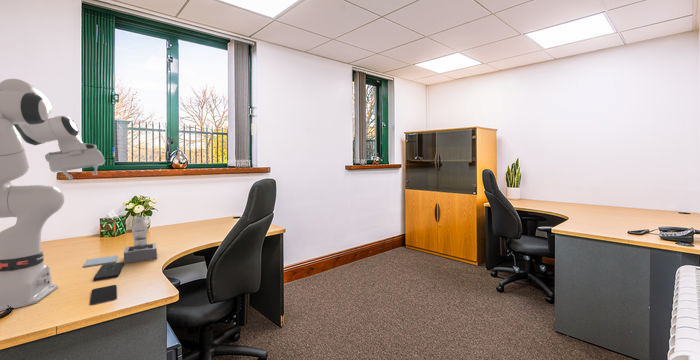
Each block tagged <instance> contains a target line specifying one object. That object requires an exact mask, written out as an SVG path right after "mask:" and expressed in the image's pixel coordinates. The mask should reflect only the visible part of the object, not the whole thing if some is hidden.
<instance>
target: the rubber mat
mask: <svg viewBox="0 0 700 360" xmlns="http://www.w3.org/2000/svg"><path fill="white" fill-rule="evenodd" d="M118 258H119V255H111V256H103V257H96V258H89V259H86V261H85V262H84V264H83V265H82V268H89V267H94V266H100V265H101V266H102V265H104V264H111V263H117V260H118Z"/></svg>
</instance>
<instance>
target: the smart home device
mask: <svg viewBox="0 0 700 360" xmlns="http://www.w3.org/2000/svg"><path fill="white" fill-rule="evenodd" d="M124 265H125V263H124V261H121V262H116V263H109V264H102V265H101V266H100V268H99V269H98V270H97V271H96V273H95V274H94V276H93V282H97V281H103V280H108V279H115V278H118V277H119V276H120V274H121V272H122V270H123V267H124Z"/></svg>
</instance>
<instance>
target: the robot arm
mask: <svg viewBox="0 0 700 360" xmlns="http://www.w3.org/2000/svg"><path fill="white" fill-rule="evenodd" d="M51 111H52V105H51V102H50V101H49V99H48V98H47V97H46V96H45V95H44V94H43V92H42V91H40V90H39V89H38V88H36V87H35V86H34V85H31V84H30V83H28V82H27V81H25V80H23V79H22V80H21V79H17V78H8V79H4V80H2V81H0V219H5V218H16V222H15V224H14V225H12V226H9V227H7V228H6V229H3V230H2V231H0V312H3V311H7V310H6V309H7V308H8V306H7V305H9V307H10V306H11V307H13V308H14V309H17V308H22V307H25V306H29V305H34V304H36V303H39V302H40V301H41V300H43V299H44V298H45V297H47V296H48V295H49V294H51V293H52V292H54V291H56V290H57V289H58V288H59V286H58V284H54V283H53V281H52V273H51V269H50V268H51V267H50V266H49V265H47V264H45V263H44V257H45V256H44V251H42V244H41V243H42V239H41V238H42V231H43V227H44V225H45V224H46V222H47V221H48V220H49V218H51V216H53V215H54V214H56V213H57V212H59V210H61V209H62V208H63V206H64V204H65V203H64V202H65V196H64V193H63V192H62V191H61V190H60V188H58V187H57V186H51V185H42V184H39V185H38V184H37V185H36V184H34V185H13V184H12V183H11V181H14V180H16V179H19V178H21V177H23V176H25V175H26V174H27V172H28V171H29V168H30V167H29V162H28V158H27V155H26V151H25V148H24V144H23V141H24V142H25V143H26V144H29V145H32V146H38V145H42V144H45V143H49V142H55V141H57V144H58V146H57V147H58V149H59V150H60V151H53V152H52V151H51V152H48V153H47V154H45V155H44V158H45V160H46V162H47V163H48V165H49V170H50V171H51V172H52V173H59V172H60V173H61V172H62V174H63V175H65V176H66V177H67V179H68V180H73V179H74V177H73V174H69V172H68V171H72V170H79V169H86V168H92V167H93V169H94V170H93V171H92V175H93V176H95V175H96V176H97V175H98V174H99V172H98V169H99V166H103V165H105V163H106V158H105V157H104V155H103V153H102V152H101V150H99V149H98V146H97V144H94V143H93V144H92V143H85V142H83V141H82V140H81V138H80V133H79V132H80V131H79V129H78V126H77V123H76V121H74V120H73V119H72V118H71V117H69V116H65V115H57V116H54V117H49V116H50V114H51ZM22 140H23V141H22ZM52 283H53V284H52Z"/></svg>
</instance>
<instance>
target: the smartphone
mask: <svg viewBox="0 0 700 360" xmlns="http://www.w3.org/2000/svg"><path fill="white" fill-rule="evenodd" d="M117 291H118V287H117V285H116V284H112V285H107V286H102V287H97V288H93V289H91V293H90V299H89V305H90V306H96V305H100V304H105V303H108V302H112V301H115V300H117V299H118V293H117Z"/></svg>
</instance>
